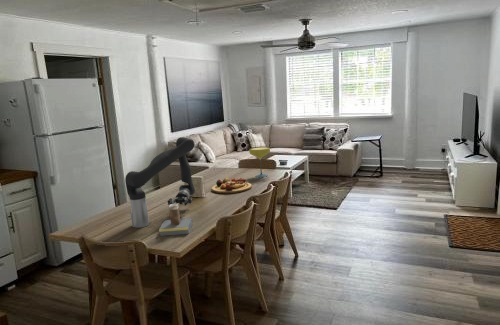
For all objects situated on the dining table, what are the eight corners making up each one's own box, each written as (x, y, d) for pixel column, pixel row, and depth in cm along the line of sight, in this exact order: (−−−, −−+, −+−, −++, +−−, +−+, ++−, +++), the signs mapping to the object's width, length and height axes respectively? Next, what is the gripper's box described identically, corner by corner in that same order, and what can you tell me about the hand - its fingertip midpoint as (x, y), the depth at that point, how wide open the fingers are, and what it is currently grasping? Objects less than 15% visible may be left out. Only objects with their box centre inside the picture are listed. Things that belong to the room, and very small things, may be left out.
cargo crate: (171, 225, 214) (168, 206, 212) (172, 222, 218) (170, 204, 216) (179, 224, 214) (176, 206, 212) (180, 221, 218) (178, 203, 216)
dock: (159, 236, 209) (158, 229, 208) (165, 226, 224) (164, 220, 223) (188, 234, 209) (187, 227, 208) (192, 224, 223) (191, 218, 223)
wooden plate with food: (243, 195, 280) (242, 184, 278) (204, 193, 291) (203, 183, 289) (257, 184, 309) (256, 174, 308) (221, 183, 320) (220, 174, 319)
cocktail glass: (247, 177, 333) (245, 149, 328) (258, 173, 347) (256, 146, 342) (264, 179, 322) (262, 150, 318) (275, 174, 337) (273, 146, 332)
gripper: (170, 192, 240) (165, 199, 224) (193, 190, 240) (189, 197, 224) (172, 203, 242) (166, 211, 226) (194, 201, 242) (190, 209, 226)
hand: (177, 204), depth 225 cm, fingers open, 8 cm apart
